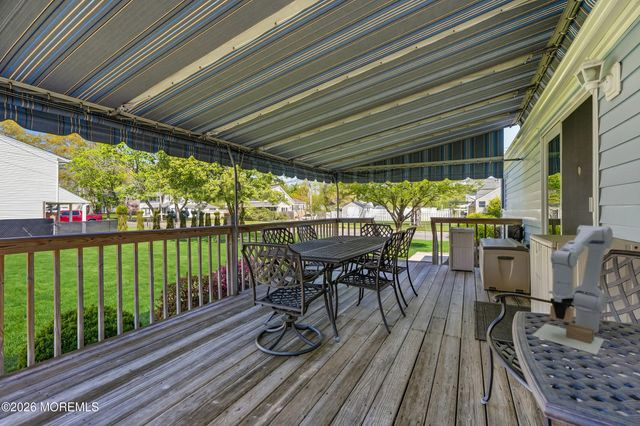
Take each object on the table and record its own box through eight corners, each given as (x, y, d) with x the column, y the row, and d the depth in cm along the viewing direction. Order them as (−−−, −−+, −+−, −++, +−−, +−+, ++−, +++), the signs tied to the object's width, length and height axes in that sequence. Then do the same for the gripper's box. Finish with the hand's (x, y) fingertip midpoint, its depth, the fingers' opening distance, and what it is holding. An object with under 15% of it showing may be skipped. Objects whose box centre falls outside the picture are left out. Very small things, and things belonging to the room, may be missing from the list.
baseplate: (545, 325, 123) (545, 323, 123) (604, 341, 109) (604, 339, 109) (531, 337, 110) (531, 335, 110) (596, 356, 96) (596, 354, 96)
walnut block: (569, 332, 114) (570, 322, 114) (593, 339, 109) (594, 328, 109) (565, 337, 110) (566, 326, 110) (590, 344, 104) (591, 333, 104)
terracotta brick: (552, 315, 114) (553, 303, 114) (572, 320, 109) (573, 308, 109) (550, 317, 111) (550, 306, 111) (570, 322, 106) (570, 310, 106)
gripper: (554, 277, 117) (553, 310, 118) (544, 282, 108) (543, 318, 108) (577, 281, 112) (575, 315, 112) (569, 286, 103) (567, 324, 103)
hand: (561, 317), depth 110 cm, fingers closed on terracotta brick, 4 cm apart
